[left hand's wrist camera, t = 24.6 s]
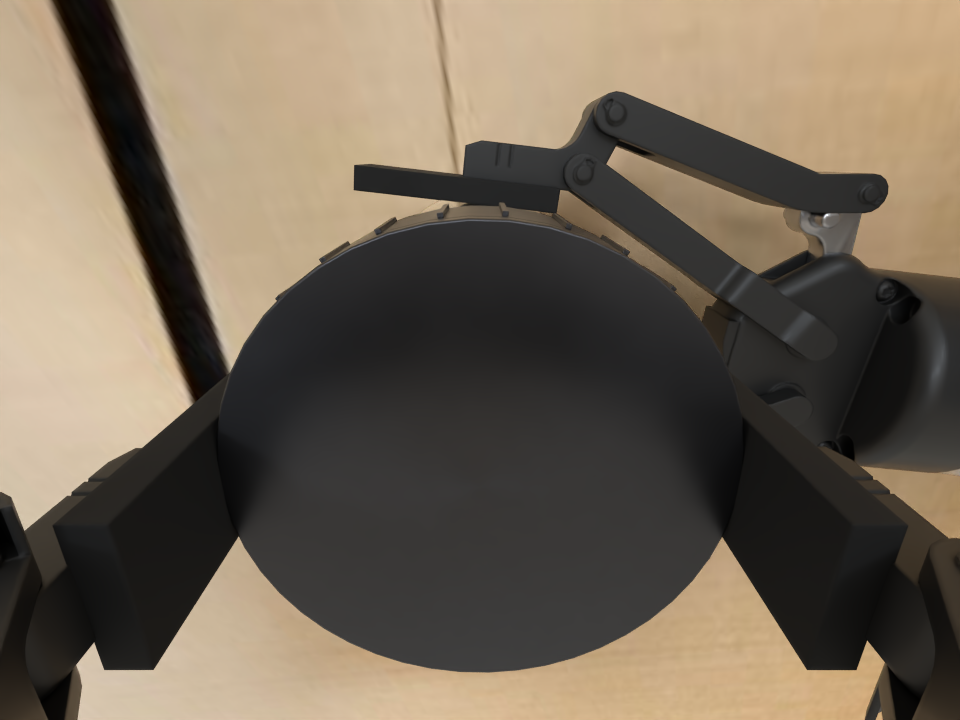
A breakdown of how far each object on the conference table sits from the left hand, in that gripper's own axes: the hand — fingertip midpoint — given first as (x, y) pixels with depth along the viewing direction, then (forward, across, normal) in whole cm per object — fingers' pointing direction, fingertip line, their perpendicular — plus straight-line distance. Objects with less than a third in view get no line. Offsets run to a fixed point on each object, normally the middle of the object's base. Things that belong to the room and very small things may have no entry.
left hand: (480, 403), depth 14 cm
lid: (-3, 0, 0) cm, 3 cm away
